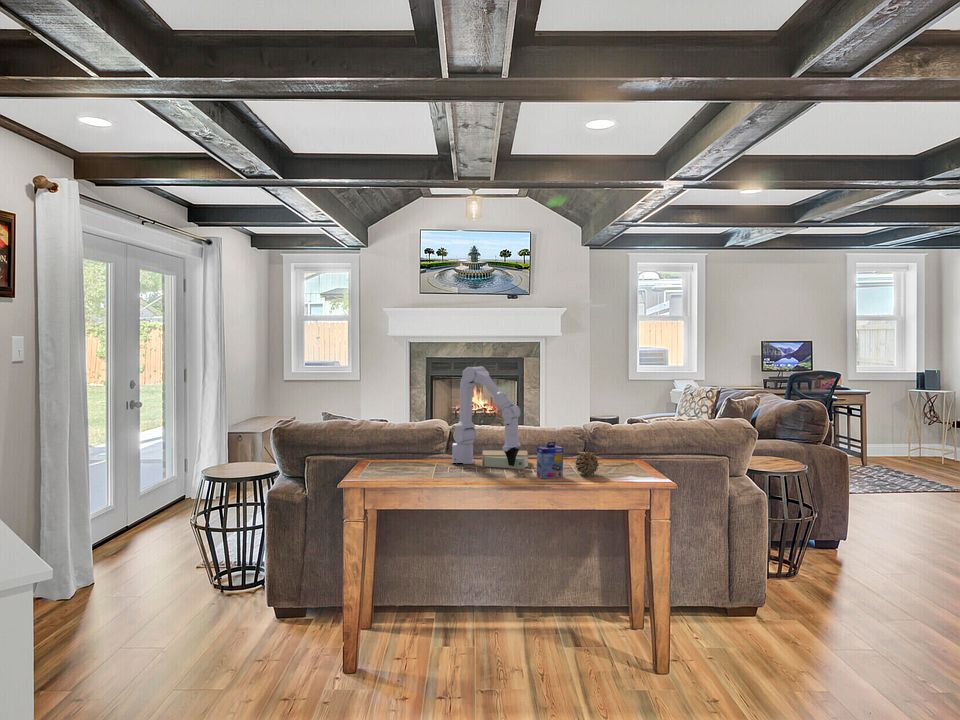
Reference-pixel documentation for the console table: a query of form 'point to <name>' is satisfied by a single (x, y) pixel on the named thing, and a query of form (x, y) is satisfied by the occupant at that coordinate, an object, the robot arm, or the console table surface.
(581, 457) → the pine cone
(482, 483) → the console table surface
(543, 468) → the ink cartridge box
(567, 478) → the console table surface
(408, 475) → the console table surface
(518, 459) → the door
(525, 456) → the beige flat box
